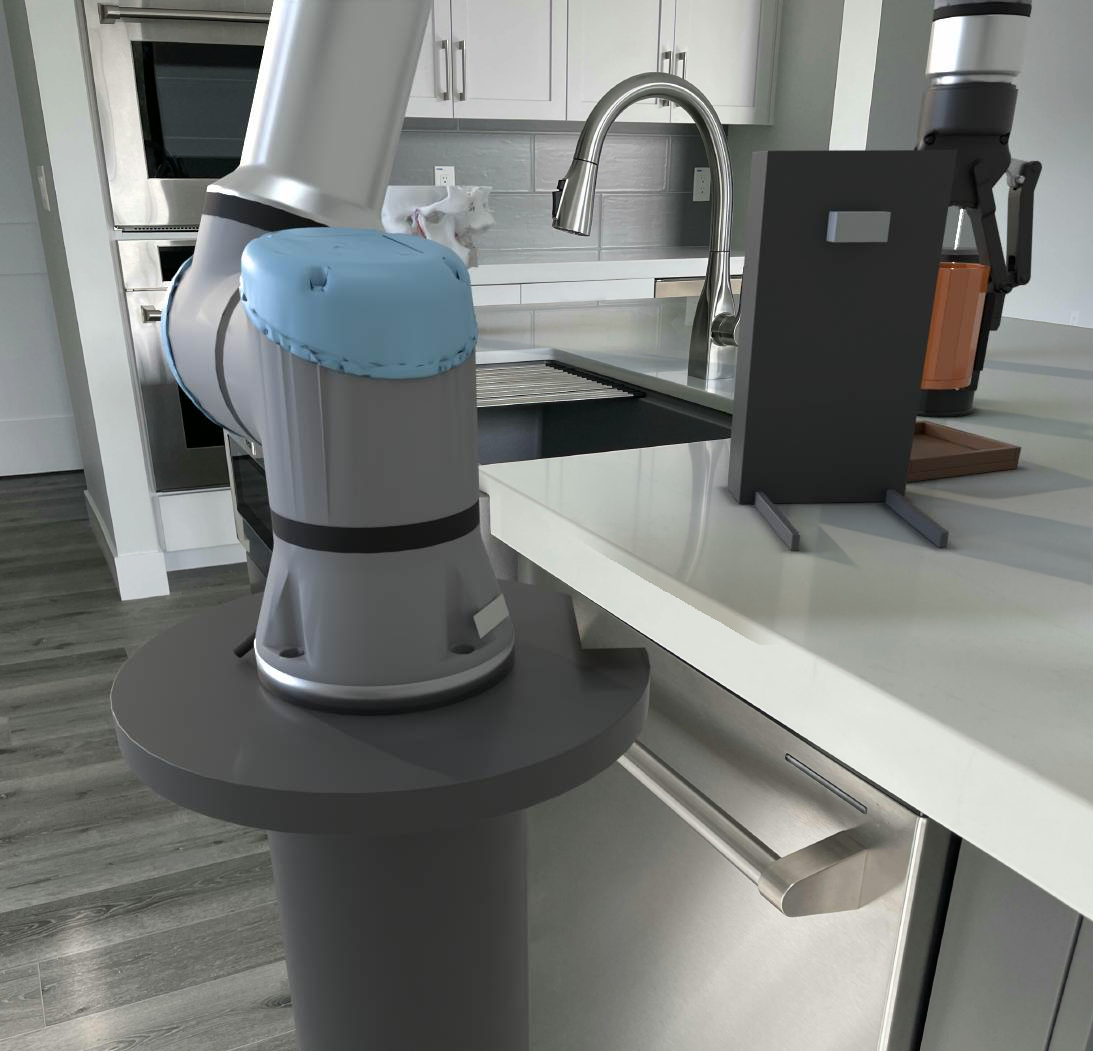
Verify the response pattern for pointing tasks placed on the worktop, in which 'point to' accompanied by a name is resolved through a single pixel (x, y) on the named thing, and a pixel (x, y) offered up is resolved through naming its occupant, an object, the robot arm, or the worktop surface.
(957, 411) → the french press
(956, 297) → the cup
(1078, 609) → the worktop surface
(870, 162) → the standing panel with handle
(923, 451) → the tray
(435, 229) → the skull
